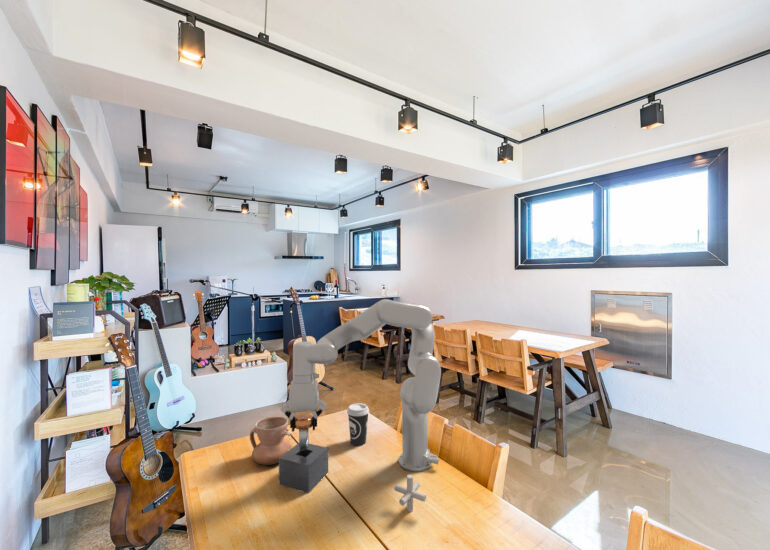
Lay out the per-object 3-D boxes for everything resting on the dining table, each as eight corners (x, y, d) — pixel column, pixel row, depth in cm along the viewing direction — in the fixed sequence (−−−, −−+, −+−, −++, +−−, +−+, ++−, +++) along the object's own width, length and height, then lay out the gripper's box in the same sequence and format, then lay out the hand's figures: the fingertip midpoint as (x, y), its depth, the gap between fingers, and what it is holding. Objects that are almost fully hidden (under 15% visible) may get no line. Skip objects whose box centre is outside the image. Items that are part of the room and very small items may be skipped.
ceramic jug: (301, 452, 133) (300, 416, 134) (280, 472, 119) (280, 432, 120) (262, 447, 138) (262, 412, 139) (238, 465, 124) (238, 427, 125)
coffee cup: (368, 447, 137) (368, 411, 137) (345, 447, 137) (345, 411, 137) (370, 436, 146) (370, 402, 146) (348, 436, 146) (348, 402, 146)
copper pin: (316, 445, 118) (316, 416, 118) (306, 454, 112) (306, 423, 112) (301, 442, 120) (301, 413, 120) (290, 451, 114) (290, 420, 114)
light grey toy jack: (417, 526, 93) (417, 491, 94) (387, 513, 99) (387, 479, 99) (431, 505, 102) (431, 473, 102) (403, 494, 107) (403, 463, 107)
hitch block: (328, 472, 119) (328, 447, 119) (308, 493, 108) (308, 465, 108) (300, 465, 124) (300, 441, 124) (279, 484, 113) (278, 458, 113)
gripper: (329, 373, 121) (329, 423, 121) (280, 375, 119) (280, 425, 118) (328, 380, 114) (328, 432, 113) (276, 382, 111) (276, 435, 111)
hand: (303, 428), depth 116 cm, fingers closed on copper pin, 6 cm apart
